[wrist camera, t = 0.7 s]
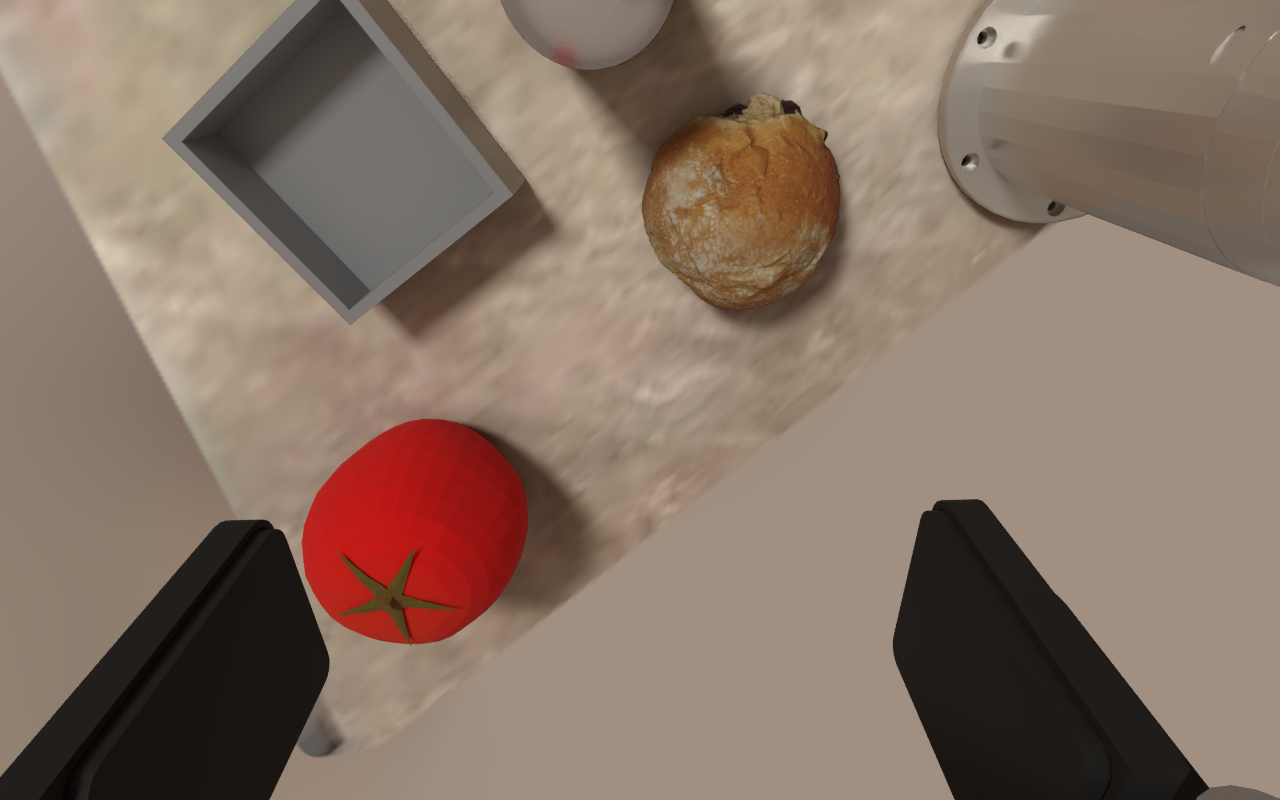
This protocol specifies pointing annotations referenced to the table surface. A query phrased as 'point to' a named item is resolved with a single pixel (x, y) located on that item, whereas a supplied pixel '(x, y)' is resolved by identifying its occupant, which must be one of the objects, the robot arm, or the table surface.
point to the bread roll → (743, 202)
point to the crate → (346, 150)
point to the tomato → (415, 533)
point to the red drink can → (588, 28)
